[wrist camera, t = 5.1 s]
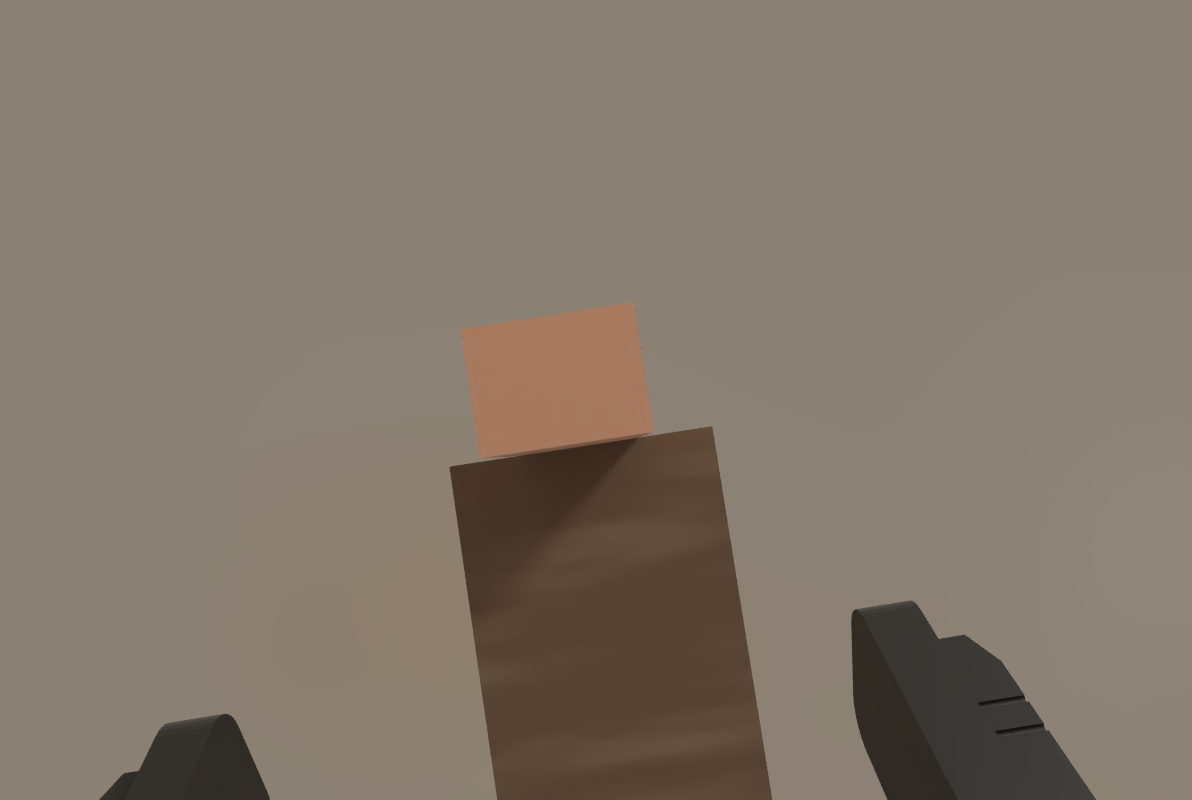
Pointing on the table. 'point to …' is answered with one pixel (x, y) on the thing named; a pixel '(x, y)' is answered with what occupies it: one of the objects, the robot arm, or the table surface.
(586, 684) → the pedestal
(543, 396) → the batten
